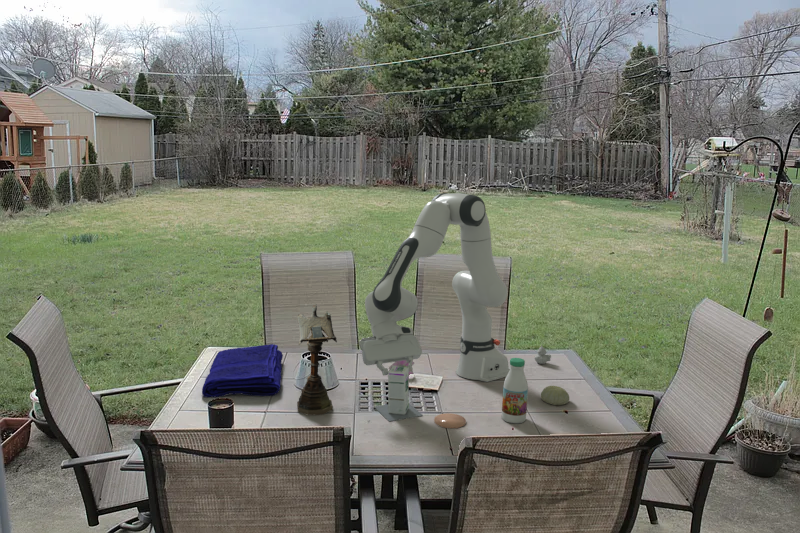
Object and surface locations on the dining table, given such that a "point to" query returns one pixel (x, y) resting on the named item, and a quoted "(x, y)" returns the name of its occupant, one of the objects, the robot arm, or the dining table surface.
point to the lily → (402, 364)
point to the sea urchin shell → (555, 395)
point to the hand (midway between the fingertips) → (398, 372)
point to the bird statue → (315, 362)
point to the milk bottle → (515, 393)
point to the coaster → (450, 420)
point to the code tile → (393, 417)
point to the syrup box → (398, 389)
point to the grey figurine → (542, 356)
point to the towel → (245, 372)
